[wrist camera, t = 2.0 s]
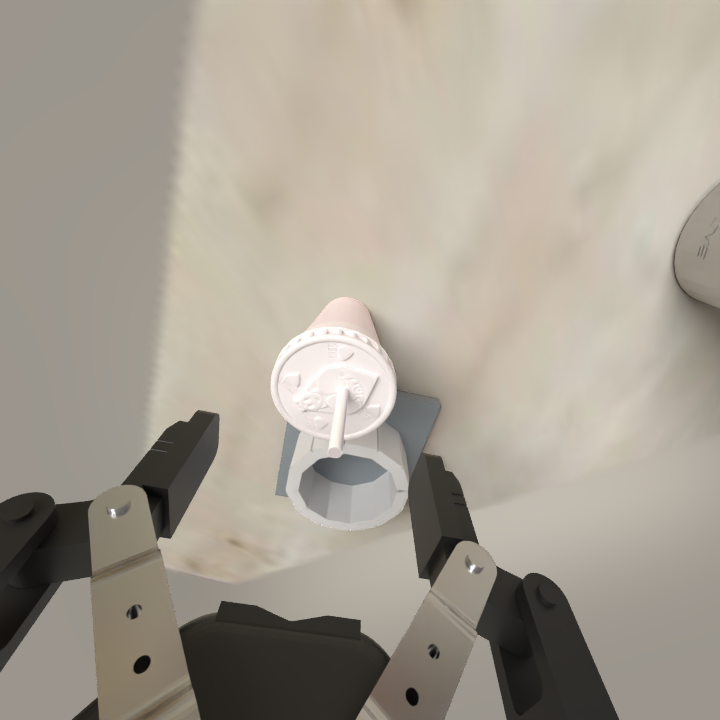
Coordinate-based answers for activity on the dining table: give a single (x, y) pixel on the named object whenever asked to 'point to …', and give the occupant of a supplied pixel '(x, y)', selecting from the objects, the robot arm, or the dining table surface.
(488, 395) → the dining table surface
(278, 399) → the smoothie
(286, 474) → the holder
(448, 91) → the dining table surface
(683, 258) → the robot arm
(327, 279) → the dining table surface
